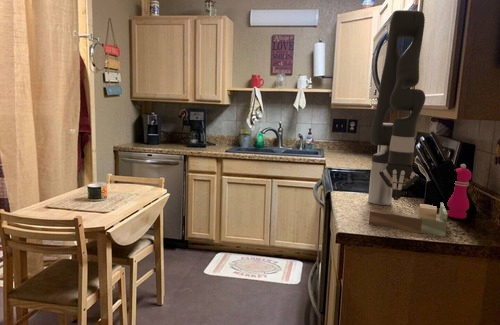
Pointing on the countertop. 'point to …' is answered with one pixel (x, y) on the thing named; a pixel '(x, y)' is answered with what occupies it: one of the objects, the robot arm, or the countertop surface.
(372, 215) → the box
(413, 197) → the countertop surface
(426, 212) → the maple block
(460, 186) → the pepper mill
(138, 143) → the countertop surface
